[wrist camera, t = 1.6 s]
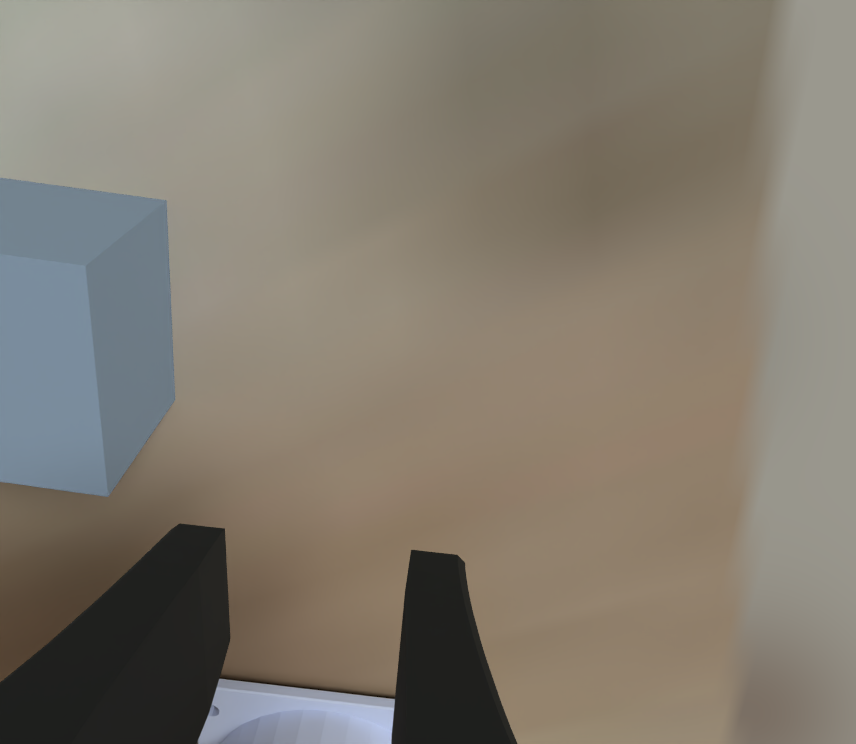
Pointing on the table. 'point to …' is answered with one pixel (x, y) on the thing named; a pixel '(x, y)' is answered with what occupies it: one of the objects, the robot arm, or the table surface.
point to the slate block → (81, 333)
